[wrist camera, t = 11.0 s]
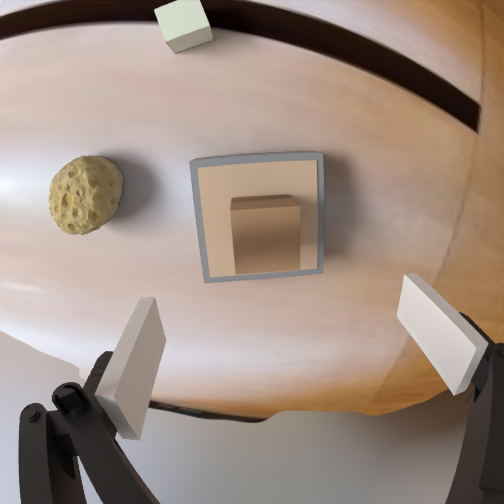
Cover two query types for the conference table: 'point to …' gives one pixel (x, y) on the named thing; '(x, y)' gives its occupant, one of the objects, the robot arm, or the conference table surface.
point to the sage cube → (183, 24)
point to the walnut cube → (265, 233)
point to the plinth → (256, 184)
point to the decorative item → (85, 194)
